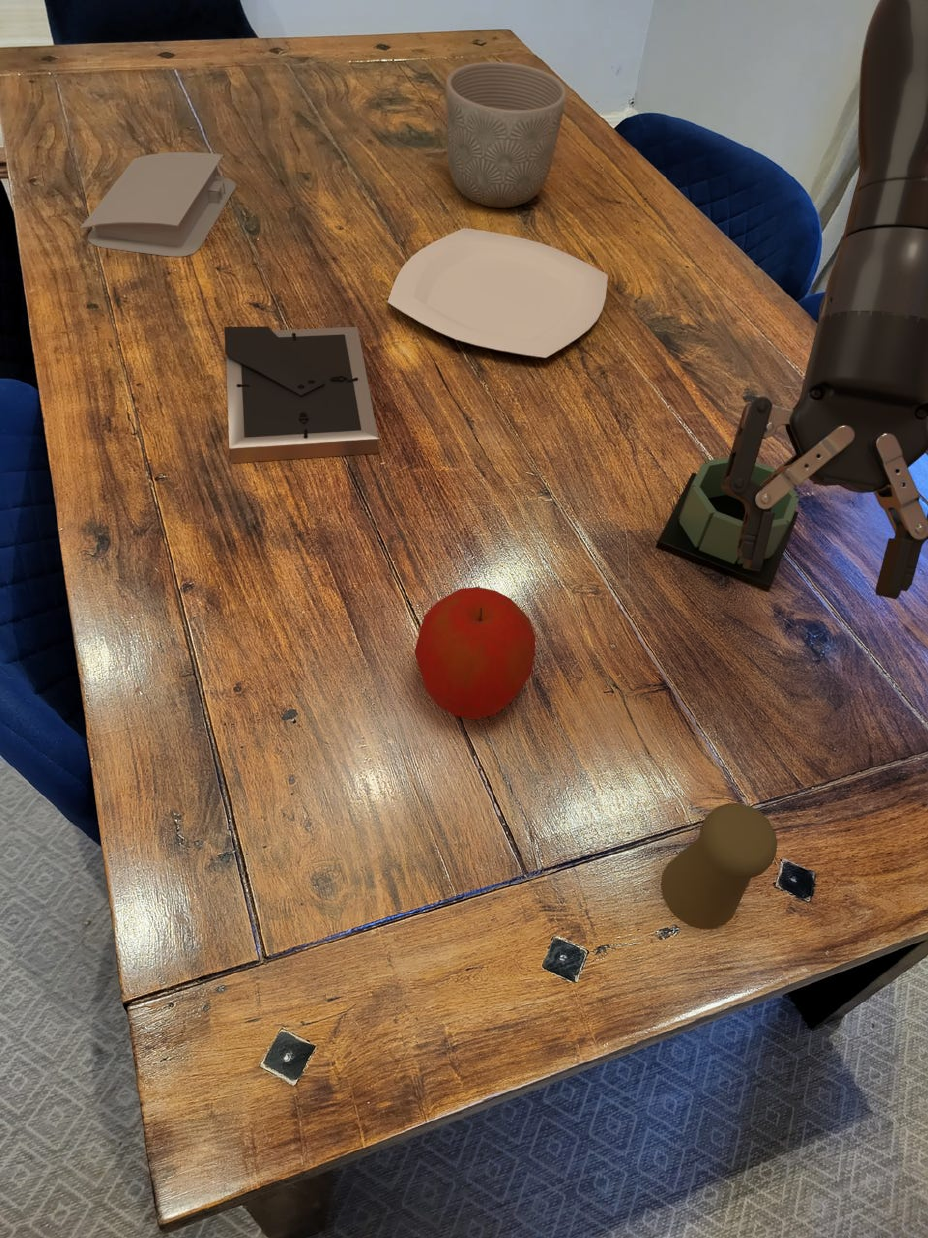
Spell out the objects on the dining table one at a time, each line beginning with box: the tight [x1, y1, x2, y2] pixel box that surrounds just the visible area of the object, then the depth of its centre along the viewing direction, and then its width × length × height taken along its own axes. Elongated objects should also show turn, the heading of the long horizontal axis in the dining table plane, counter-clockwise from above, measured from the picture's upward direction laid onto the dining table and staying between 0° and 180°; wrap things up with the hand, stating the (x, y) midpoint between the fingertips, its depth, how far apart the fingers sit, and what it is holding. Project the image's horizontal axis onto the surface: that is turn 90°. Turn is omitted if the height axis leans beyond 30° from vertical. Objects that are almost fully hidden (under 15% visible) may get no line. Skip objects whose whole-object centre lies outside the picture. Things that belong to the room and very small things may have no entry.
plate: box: [387, 227, 609, 360], centre depth 115 cm, size 27×27×2 cm
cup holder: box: [655, 456, 800, 593], centre depth 90 cm, size 12×12×6 cm
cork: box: [660, 802, 778, 930], centre depth 64 cm, size 6×6×11 cm
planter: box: [445, 61, 568, 209], centre depth 128 cm, size 17×17×15 cm
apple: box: [413, 586, 536, 720], centre depth 73 cm, size 10×10×12 cm
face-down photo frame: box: [224, 325, 380, 464], centre depth 100 cm, size 16×3×21 cm
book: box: [79, 151, 237, 258], centre depth 122 cm, size 15×23×4 cm, turn 173°
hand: (818, 583), depth 55 cm, fingers open, 8 cm apart
